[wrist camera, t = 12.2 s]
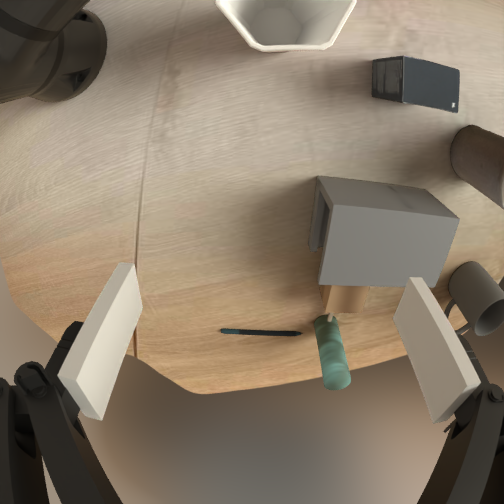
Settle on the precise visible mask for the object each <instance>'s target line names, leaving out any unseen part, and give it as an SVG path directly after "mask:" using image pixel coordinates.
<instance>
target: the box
mask: <svg viewBox="0 0 504 504" xmlns="http://www.w3.org/2000/svg"><path fill="white" fill-rule="evenodd" d="M459 84H460V73H459V70H458V69H455V68H451V67H448V66H444V65H441V64H437V63H433V62H430V61H426V60H421V59H417V58H413V57H409V56H397V57H390V58H382V59H376V60H373V73H372V97H375V98H381V99H387V100H392V101H397V102H401V103H407V104H414V105H420V106H426V107H431V108H436V109H440V110H445V111H449V112H453V113H458V104H459Z"/></svg>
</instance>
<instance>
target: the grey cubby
mask: <svg viewBox="0 0 504 504" xmlns="http://www.w3.org/2000/svg"><path fill="white" fill-rule="evenodd" d="M459 220H460V219H459V218H458V217H457V216H456V215H455V214H454V213H453V212H452V211H450V210H449V209H448V208H447V207H446V206H445V205H443V204H442V203H441V202H440V201H439V200H438V199H436V198H435V197H434V196H433V195H432V194H430V193H429V192H428V191H427V190H425V189H419V188H413V187H406V186H400V185H393V184H386V183H378V182H370V181H362V180H354V179H345V178H336V177H326V176H318V177H317V184H316V192H315V199H314V207H313V214H312V221H311V228H310V234H309V241H308V245H309V248H310V252H317V248H318V247H323V253H322V258H321V263H320V268H319V273H318V278H317V280H318V284H319V285H341V286H378V287H406V285H407V283H408V280H409V277H422V278H423V280H424V281H425V283H426V285H427V286H428V287H435V286H436V283H437V281H438V279H439V276H440V274H441V271H442V269H443V266H444V263H445V261H446V258H447V255H448V253H449V250H450V247H451V244H452V242H453V239H454V236H455V233H456V230H457V227H458V224H459Z"/></svg>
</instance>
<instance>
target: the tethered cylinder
mask: <svg viewBox="0 0 504 504" xmlns="http://www.w3.org/2000/svg"><path fill="white" fill-rule="evenodd" d="M369 288H370V286H341V285H320V293H321V297H322V301H323V305H324V310H325V313H329V314H328V315H323V316H321V317H319V318H318V319H316V321H315V323H314V327H315V332H316V338H317V344H318V350H319V356H320V362H321V368H322V374H323V381H324V386H325V388H326V389H329V390H339V389H342V388H345V387H346V386H348V385H349V384H350V382H351V377H350V373H349V368H348V364H347V360H346V355H345V351H344V347H343V343H342V339H341V335H340V331H339V327H338V323H337V320H336V318H335V317H334V316H333V314H334V313H361V312H362V309H363V306H364V304H365V301H366V298H367V294H368V291H369Z"/></svg>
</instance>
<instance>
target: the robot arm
mask: <svg viewBox="0 0 504 504" xmlns="http://www.w3.org/2000/svg"><path fill="white" fill-rule="evenodd" d="M89 1H90V0H0V104H1V103H5V102H8V101H12V100H15V99H19V98H23V97H27V96H29V97H32V98H36V99H39V100H42V101H45V102H59V101H64V100H68V99H71V98H73V97H75V96H77V95H79V94H80V93H82V92H83V91H84V90H85V89H86V88H87V87H88V86H89V85H90V84H91V83H92V82H93V81H94V79H95V78H96V76H97V75H98V73H99V71H100V69H101V67H102V64H103V62H104V59H105V55H106V48H107V37H106V31H105V28H104V26H103V24H102V22H101V20H100V19H99V18H98V17H97V16H96V15H95V14H93V13H92V12H90V11H87V10H83V9H82V8H83V7H84V6H85V5H86V4H87V3H88V2H89ZM142 309H143V306H142V301H141V297H140V292H139V287H138V282H137V277H136V271H135V266H134V263H122V262H119V264H118V265H117V267H116V268H115V270H114V272H113V273H112V275H111V277H110V278H109V280H108V282H107V283H106V285H105V287H104V288H103V290H102V292H101V294H100V295H99V297H98V299H97V301H96V302H95V304H94V306H93V308H92V309H91V311H90V313H89V315H88V317H87V318H86V320H85V322H78V321H75V322H73V323H72V324H71V325H70V326H69V327H68V328H67V329H66V330H65V332H64V334H63V336H62V338H61V340H60V341H59V343H58V345H57V348H56V349H55V350H54V352H53V354H52V356H51V358H50V360H49V362H48V364H47V366H46V368H45V370H44V368H43V366H42V365H41V364H39V363H38V362H33V361H31V362H27V363H25V364H23V365H21V366H20V367H19V368H18V370H17V371H16V373H15V375H14V382H15V384H16V385H17V386H10V385H9V384H8V382H7V381H6V380H5V379H3V378H0V504H50V503H49V498H48V494H47V488H46V482H45V476H44V469H43V462H42V457H43V460H44V462H45V465H46V467H47V470H48V472H49V475H50V478H51V480H52V483H53V485H54V487H55V490H56V492H57V494H58V496H59V498H60V501H61V503H62V504H123V503H122V502H121V500H120V498H119V497H118V495H117V493H116V491H115V490H114V488H113V486H112V485H111V483H110V481H109V479H108V478H107V476H106V474H105V472H104V470H103V468H102V466H101V464H100V462H99V460H98V459H97V456H96V454H95V453H94V450H93V449H92V447H91V444H90V442H89V440H88V438H87V436H86V433H85V431H84V429H83V426H82V424H81V422H80V420H79V418H78V417H77V416H78V413H79V411H80V410H81V411H82V412H83V414H84V415H85V416H87V417H90V418H94V419H98V420H102V419H103V416H104V413H105V410H106V407H107V404H108V401H109V398H110V395H111V392H112V389H113V386H114V383H115V380H116V377H117V375H118V372H119V369H120V366H121V364H122V361H123V358H124V356H125V353H126V350H127V348H128V345H129V342H130V340H131V337H132V334H133V332H134V329H135V327H136V324H137V322H138V319H139V317H140V314H141V312H142ZM393 320H394V323H395V325H396V327H397V330H398V332H399V334H400V337H401V339H402V341H403V344H404V346H405V349H406V351H407V354H408V356H409V359H410V361H411V364H412V366H413V369H414V371H415V374H416V377H417V379H418V382H419V384H420V387H421V390H422V393H423V395H424V398H425V401H426V404H427V407H428V410H429V413H430V415H431V419H432V422H433V424H434V423H438V422H442V421H446V420H448V419H449V418H450V416H452V414H453V413H454V414H455V417H456V419H455V420H454V421H453V422H452V423H451V424H450V425H449V426H448V427H447V428H446V429H445V430H444V432H447V431H448V430H449V429H450V431H449V433H448V437H447V439H446V442H445V444H444V447H443V449H442V452H441V454H440V457H439V459H438V461H437V464H436V466H435V468H434V471H433V473H432V475H431V477H430V479H429V481H428V483H427V485H426V487H425V489H424V491H423V493H422V495H421V497H420V499H419V501H418V503H417V504H504V392H503V390H502V389H501V388H500V387H499V386H498V385H495V384H490V383H489V381H488V380H487V377H486V375H485V373H484V371H483V369H482V367H481V365H480V363H479V361H478V359H476V356H475V354H474V352H472V348H471V346H470V345H469V343H468V341H467V340H466V339H465V338H464V337H463V336H462V335H461V334H456V333H455V331H454V329H453V328H452V326H451V324H450V322H449V321H448V319H447V317H446V316H445V314H444V312H443V311H442V309H441V307H440V306H439V304H438V302H437V301H436V299H435V297H434V296H433V294H432V292H431V291H430V289H429V288H428V286H427V285H426V283H425V281H424V280H423V278H422V277H409V280H408V283H407V285H406V288H405V290H404V293H403V295H402V298H401V300H400V302H399V305H398V307H397V309H396V312H395V314H394V316H393Z"/></svg>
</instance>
